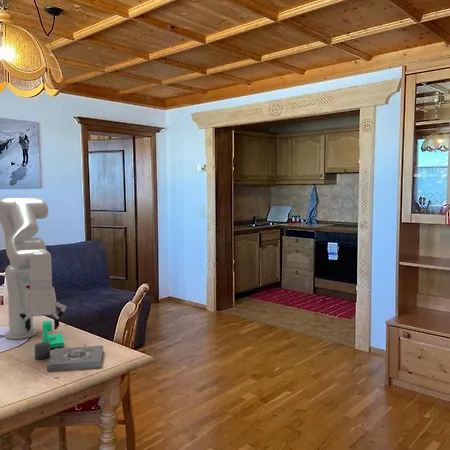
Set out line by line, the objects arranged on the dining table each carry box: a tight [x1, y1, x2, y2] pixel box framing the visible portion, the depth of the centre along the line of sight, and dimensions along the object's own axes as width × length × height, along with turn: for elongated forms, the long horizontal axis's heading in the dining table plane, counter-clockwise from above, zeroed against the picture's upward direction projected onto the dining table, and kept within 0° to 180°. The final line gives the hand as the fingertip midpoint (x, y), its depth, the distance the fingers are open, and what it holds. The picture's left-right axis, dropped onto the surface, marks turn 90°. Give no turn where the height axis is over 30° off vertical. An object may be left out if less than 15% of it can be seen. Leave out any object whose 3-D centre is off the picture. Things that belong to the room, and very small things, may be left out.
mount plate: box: [46, 345, 104, 373], centre depth 164 cm, size 16×18×2 cm
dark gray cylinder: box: [34, 341, 51, 361], centre depth 167 cm, size 5×5×5 cm
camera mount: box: [42, 320, 65, 349], centre depth 181 cm, size 12×8×10 cm, turn 24°
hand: (42, 329), depth 166 cm, fingers open, 9 cm apart
